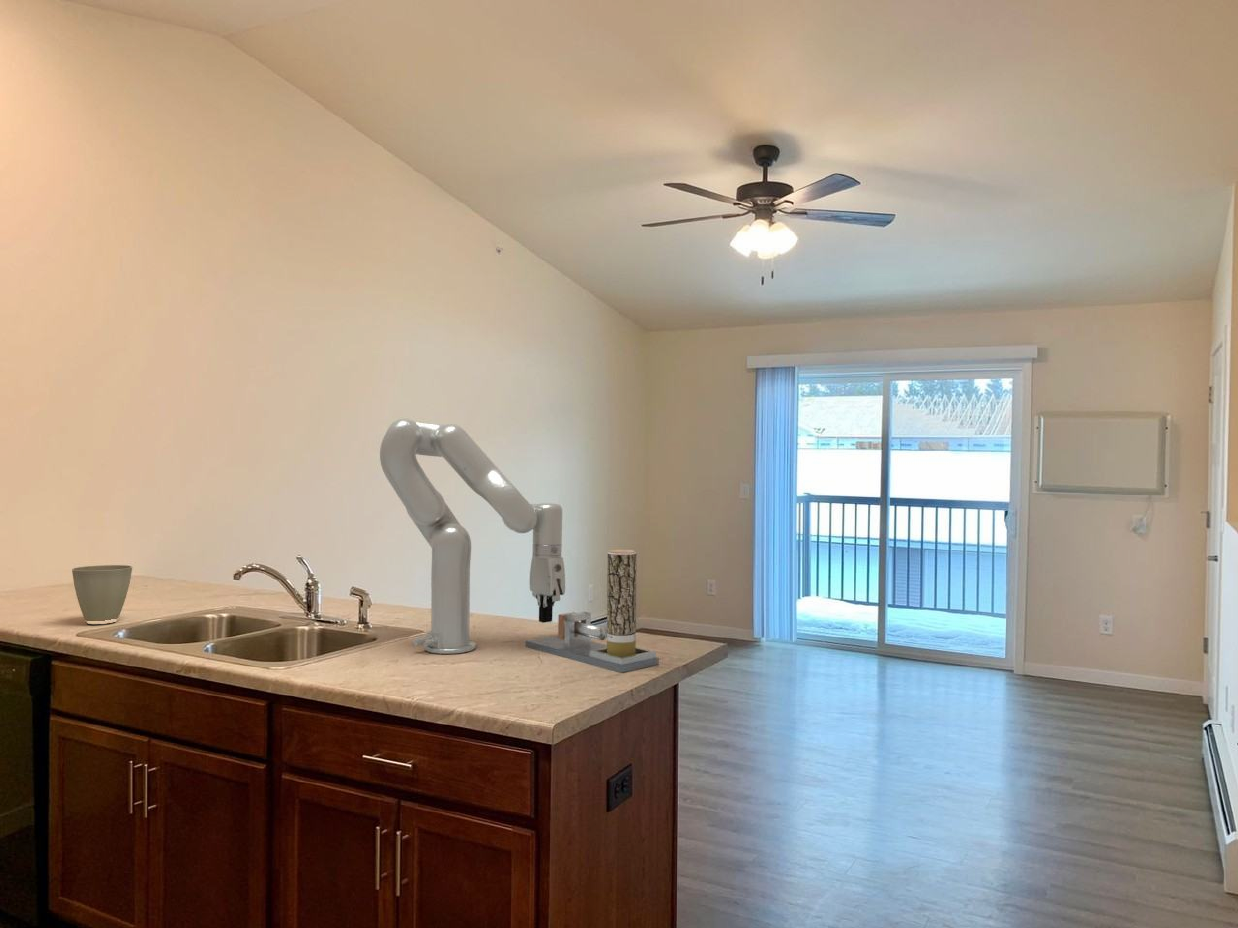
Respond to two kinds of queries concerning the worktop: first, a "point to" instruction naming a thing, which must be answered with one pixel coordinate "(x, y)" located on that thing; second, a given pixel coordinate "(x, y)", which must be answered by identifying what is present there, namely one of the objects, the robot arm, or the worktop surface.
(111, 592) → the plant pot
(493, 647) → the worktop surface
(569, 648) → the shaft frame
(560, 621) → the shaft
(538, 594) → the robot arm
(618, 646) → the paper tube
